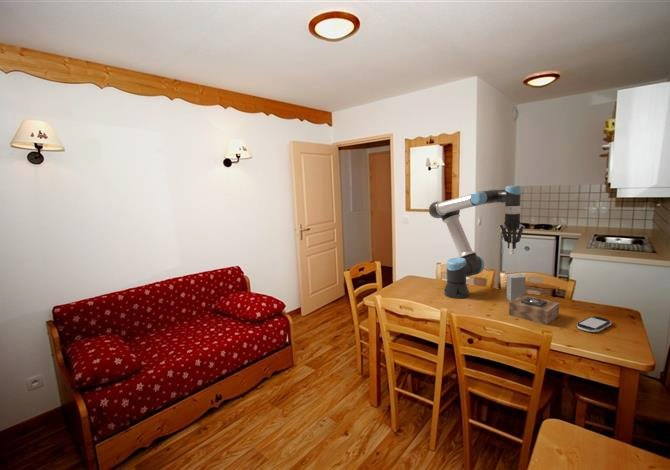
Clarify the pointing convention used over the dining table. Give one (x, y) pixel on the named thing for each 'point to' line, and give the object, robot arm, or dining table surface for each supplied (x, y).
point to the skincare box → (515, 286)
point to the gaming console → (593, 324)
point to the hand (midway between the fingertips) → (511, 254)
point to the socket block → (534, 309)
